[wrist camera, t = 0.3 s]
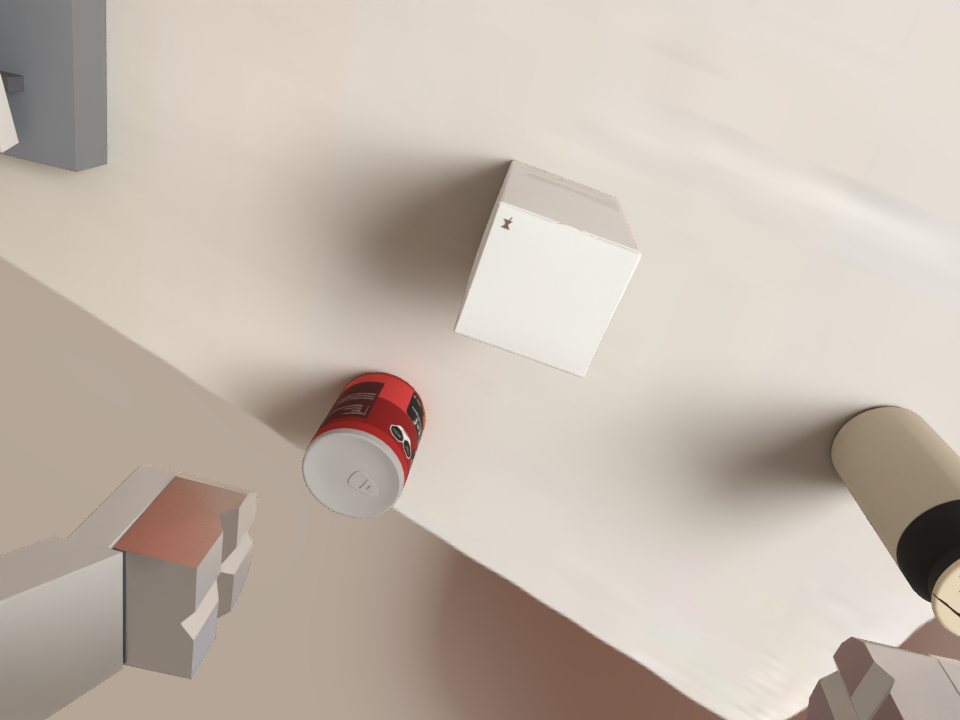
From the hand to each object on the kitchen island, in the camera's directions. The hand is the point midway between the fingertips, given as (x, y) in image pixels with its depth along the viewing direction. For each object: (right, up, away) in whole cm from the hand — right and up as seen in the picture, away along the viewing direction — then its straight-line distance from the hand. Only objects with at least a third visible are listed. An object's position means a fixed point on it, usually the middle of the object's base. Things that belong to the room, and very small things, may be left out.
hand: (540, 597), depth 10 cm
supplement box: (+4, +13, +46) cm, 48 cm away
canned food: (-9, -1, +54) cm, 55 cm away
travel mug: (+33, -4, +50) cm, 60 cm away
